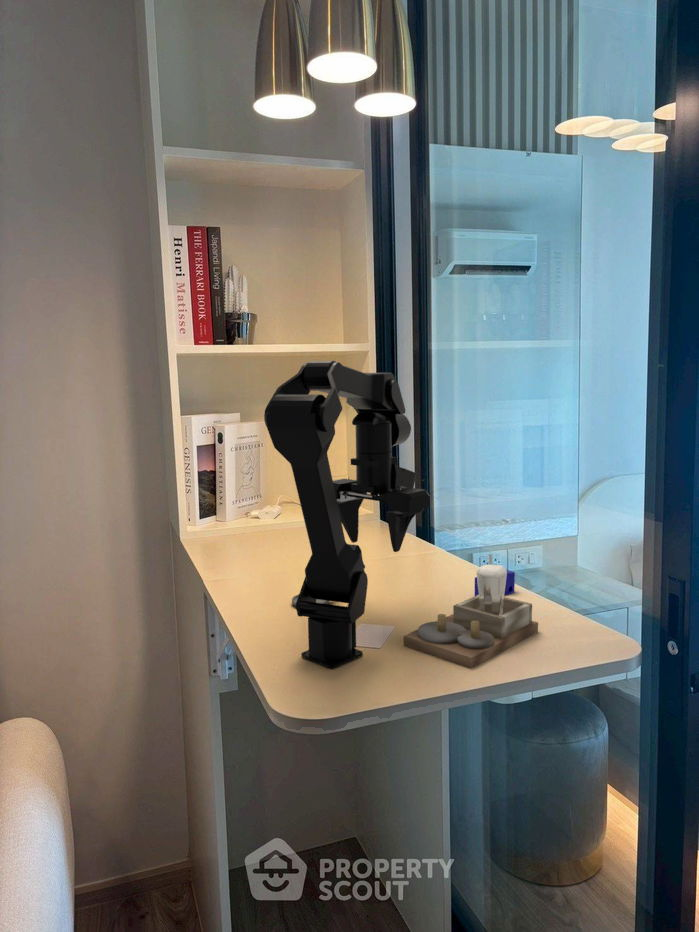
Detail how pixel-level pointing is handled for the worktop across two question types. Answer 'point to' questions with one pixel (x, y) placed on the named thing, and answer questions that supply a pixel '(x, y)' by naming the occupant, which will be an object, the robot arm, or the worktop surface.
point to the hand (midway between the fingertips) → (374, 546)
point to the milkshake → (491, 587)
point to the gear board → (474, 632)
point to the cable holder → (508, 587)
